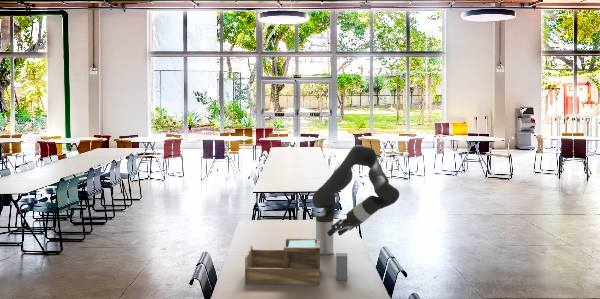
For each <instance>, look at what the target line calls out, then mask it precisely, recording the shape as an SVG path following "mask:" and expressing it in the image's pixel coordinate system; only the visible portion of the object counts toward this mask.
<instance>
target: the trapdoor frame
mask: <svg viewBox="0 0 600 299" xmlns="http://www.w3.org/2000/svg"><path fill="white" fill-rule="evenodd" d="M290 240H315V247H288V245H289V241H290ZM316 243H317V245H316ZM253 246H254V245H253V244H250V246H249V248H248V250H247V252H246V255H245V256H244V269H245V270H244V283H245V284H246V285H248V284H249V285H295V286H296V285H299V286H300V285H301V286H302V285H306V286H310V285H311V286H312V285H313V286H319V285H320V283H321V281H320V279H321V276H320V273H321V254H320V239H316V238H286V239H285V246H283V249H272V248H271V249H269V248H268V249H267V248H265V249H261V248H260V249H259V248H257V249H256V248H254V247H253Z"/></svg>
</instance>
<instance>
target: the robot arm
mask: <svg viewBox="0 0 600 299" xmlns="http://www.w3.org/2000/svg"><path fill="white" fill-rule="evenodd" d="M356 165H358V166H363V167H367V168H369V170H368V179H369V181H370V182H371V184H372V186H373V189H374V193H375V194H376V195H369V196H368V197H367V198H365V199H364V200H362V201H361V202H360V203H358V204H356V205H355V206H354V207H353V208H351V209H350V210H348V212H346V218H343V219H341V218H340V219H339V220H338V221H336V222H335V223H334V219H335V218H334V217H335V214H336V195H335V194H338V193H339V192H341V191H343V190H344V189H345V188H347V187H348V185H349V184H350V183H351V182H352V180H353V169H352V168H353V167H354V166H356ZM399 198H400V191H399V189H398V188H396V187H394V186H393V185H392V184H390V180H389V179H388V177H387V175H386V173H385V172H384V170H383V169H382V167H381V164H380V161H379V158H378V155H377V153H376V151H375V150H374V148H373V147H370V146H366V145H362V144H355V145H354V146H352V148H351V149H350V150H349V152H348V154H347V155H346V156H345V158H344V160H343V161H342V163H341V164H340V165H339V166H338V167H337V168H336V170H334V171H333V173H332V174H331V176H330V177H329V178H328V179H327V180H326V181H325V183H324V184H322V186H320V187H319V188H318V189H317V190H316V191H314V193H313V196H312V199H311V200H312V201H311V202H312V205H313V206H314V207H315V208H316V209H322V210H321V211H320V212H318V213H317V214H316V215H315V239H320V255H324V256H327V255H328V256H329V255H332V254H334V234H335V233H336V232H337V234H338V235H339V236H342V235H344V234H346V233H347V232H348V231H352V230H354V228H357V227H359V226H360V225H362V224H363V223H364V222H366V221H367V220H368V219H369V218H370V217H372V215H374V214H375V213H377V212H378V211H379V210H382V209H385V208H387V207H389V206H391V205H393V204H395V203H396V202H397V201H398V200H399ZM316 245H317V243H315V246H316Z"/></svg>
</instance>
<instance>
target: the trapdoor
mask: <svg viewBox="0 0 600 299" xmlns="http://www.w3.org/2000/svg"><path fill="white" fill-rule="evenodd" d="M288 247H316V243H315V240H290V241H289V245H288Z"/></svg>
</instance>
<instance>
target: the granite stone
mask: <svg viewBox="0 0 600 299" xmlns="http://www.w3.org/2000/svg"><path fill="white" fill-rule="evenodd" d="M335 279H336V281H340V280H341V281H343V280H345V281H347V280H348V252H336V253H335Z"/></svg>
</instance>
